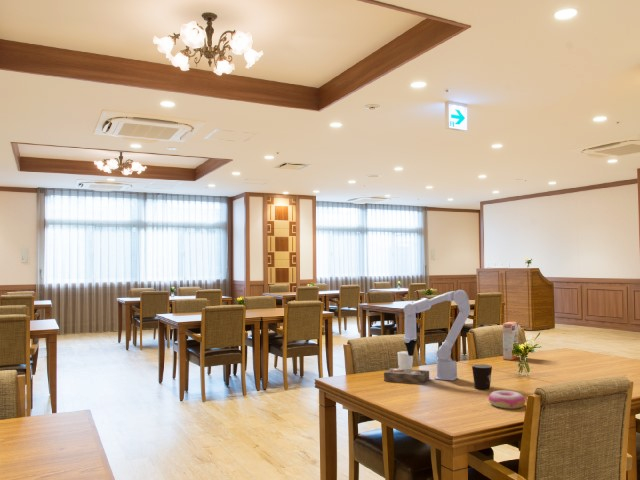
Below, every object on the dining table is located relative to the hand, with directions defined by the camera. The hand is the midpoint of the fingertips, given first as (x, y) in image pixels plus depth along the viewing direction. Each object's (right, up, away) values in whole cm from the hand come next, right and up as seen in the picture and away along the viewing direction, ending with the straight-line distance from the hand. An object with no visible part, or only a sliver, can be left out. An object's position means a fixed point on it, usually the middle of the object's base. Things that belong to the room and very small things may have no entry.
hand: (410, 355), depth 273 cm
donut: (+28, -8, -57) cm, 64 cm away
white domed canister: (+1, -10, -10) cm, 13 cm away
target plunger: (-7, -9, -6) cm, 13 cm away
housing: (-3, -10, -8) cm, 13 cm away
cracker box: (+67, -12, +49) cm, 84 cm away
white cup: (-1, -11, +12) cm, 16 cm away
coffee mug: (+29, -9, -27) cm, 40 cm away
